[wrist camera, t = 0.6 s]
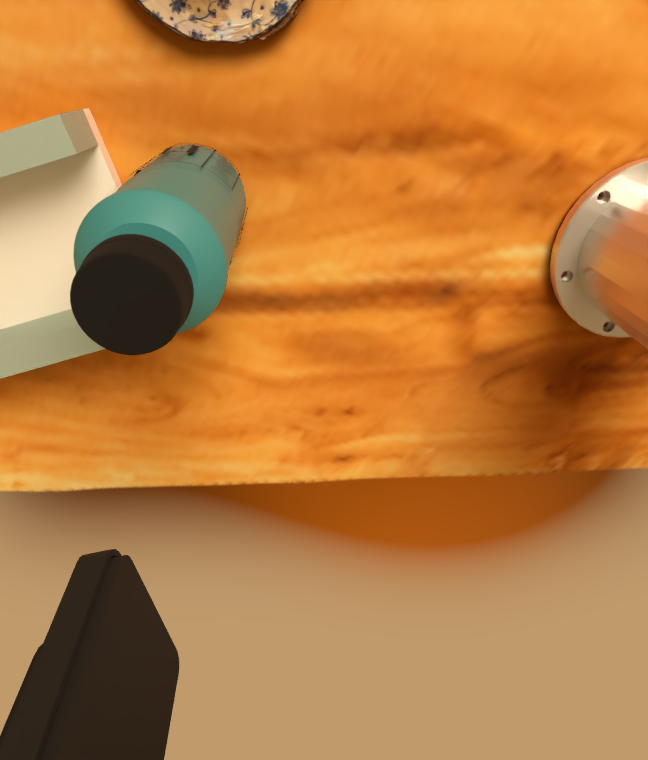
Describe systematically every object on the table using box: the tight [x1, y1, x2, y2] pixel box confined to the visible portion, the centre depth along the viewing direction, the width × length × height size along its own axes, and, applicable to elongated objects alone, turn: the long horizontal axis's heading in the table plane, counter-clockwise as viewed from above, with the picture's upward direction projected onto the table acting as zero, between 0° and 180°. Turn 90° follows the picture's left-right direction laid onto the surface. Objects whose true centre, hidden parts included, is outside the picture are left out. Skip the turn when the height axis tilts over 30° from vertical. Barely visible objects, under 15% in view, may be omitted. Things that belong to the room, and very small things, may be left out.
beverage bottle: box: [70, 143, 248, 355], centre depth 29 cm, size 6×7×20 cm
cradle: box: [0, 108, 122, 379], centre depth 36 cm, size 15×13×5 cm
